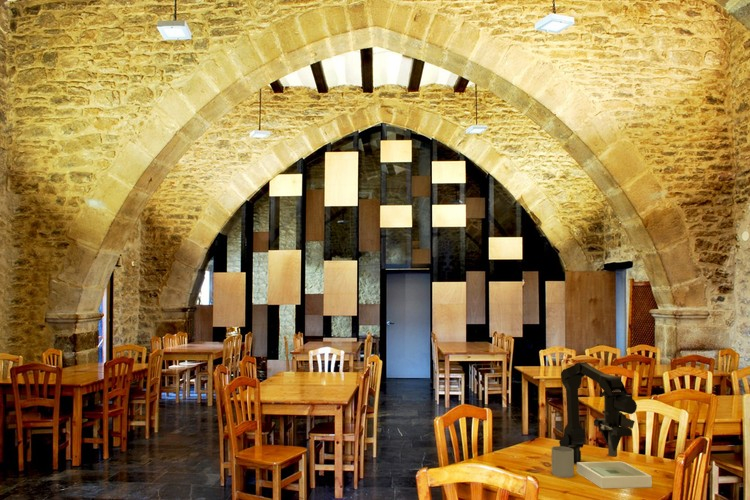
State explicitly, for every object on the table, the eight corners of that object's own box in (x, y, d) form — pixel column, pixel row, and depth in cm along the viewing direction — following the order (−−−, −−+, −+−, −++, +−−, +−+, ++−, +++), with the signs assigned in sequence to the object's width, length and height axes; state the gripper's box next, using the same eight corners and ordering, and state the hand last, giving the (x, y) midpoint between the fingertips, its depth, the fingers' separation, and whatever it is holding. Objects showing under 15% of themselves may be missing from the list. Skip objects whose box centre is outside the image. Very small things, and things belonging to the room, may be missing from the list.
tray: (601, 488, 222) (601, 477, 222) (576, 472, 242) (576, 462, 242) (651, 487, 224) (651, 476, 225) (622, 471, 244) (622, 461, 244)
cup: (573, 472, 241) (573, 447, 242) (573, 478, 233) (573, 452, 234) (552, 470, 244) (552, 445, 245) (551, 476, 236) (551, 450, 237)
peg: (611, 457, 232) (610, 433, 233) (606, 454, 235) (606, 431, 236) (618, 456, 232) (618, 433, 233) (614, 454, 236) (614, 431, 236)
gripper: (644, 413, 227) (645, 455, 226) (618, 404, 245) (618, 442, 244) (617, 414, 225) (617, 456, 224) (593, 404, 244) (593, 443, 243)
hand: (612, 449), depth 234 cm, fingers closed on peg, 3 cm apart
